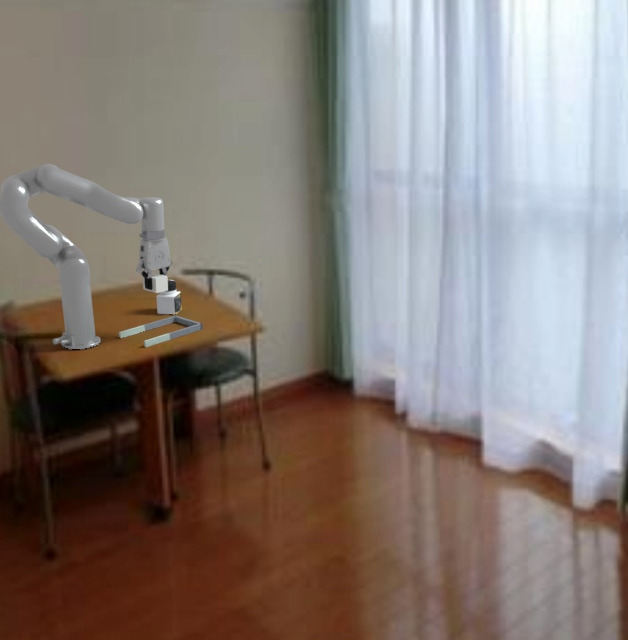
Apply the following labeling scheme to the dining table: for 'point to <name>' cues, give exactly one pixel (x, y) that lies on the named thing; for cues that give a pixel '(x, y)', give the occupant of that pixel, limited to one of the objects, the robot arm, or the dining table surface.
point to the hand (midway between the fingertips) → (155, 286)
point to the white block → (157, 283)
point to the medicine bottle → (169, 300)
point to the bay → (193, 328)
